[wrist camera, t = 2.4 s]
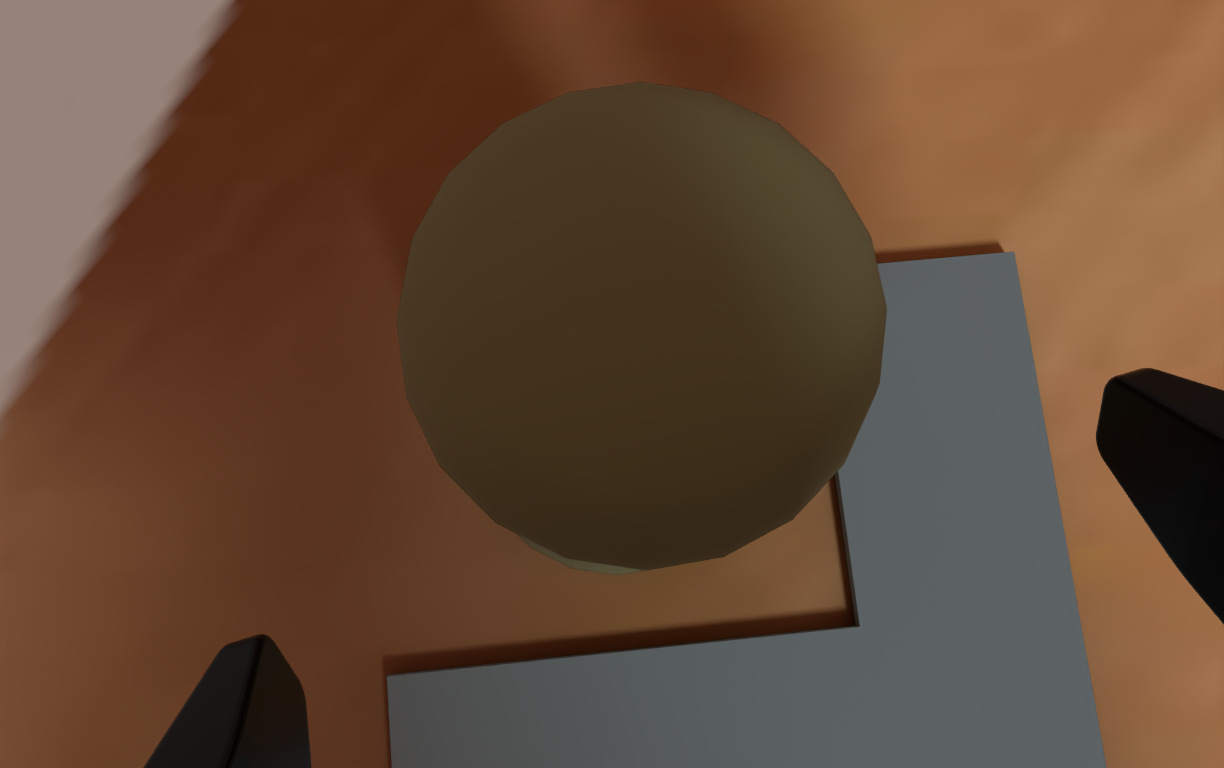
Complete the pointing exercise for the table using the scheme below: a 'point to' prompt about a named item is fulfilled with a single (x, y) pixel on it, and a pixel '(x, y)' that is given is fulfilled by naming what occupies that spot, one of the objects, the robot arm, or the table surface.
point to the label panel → (881, 595)
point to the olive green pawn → (641, 326)
